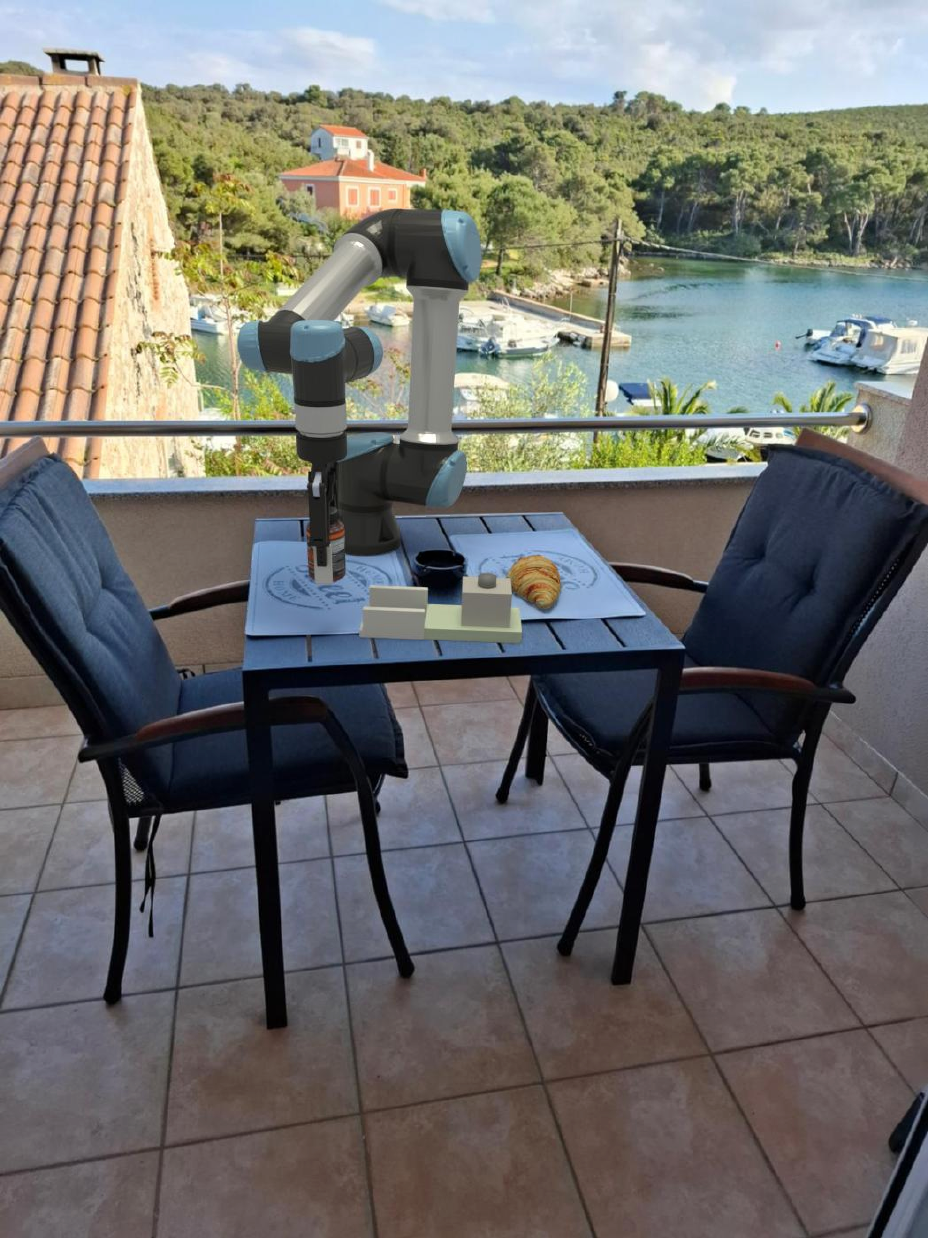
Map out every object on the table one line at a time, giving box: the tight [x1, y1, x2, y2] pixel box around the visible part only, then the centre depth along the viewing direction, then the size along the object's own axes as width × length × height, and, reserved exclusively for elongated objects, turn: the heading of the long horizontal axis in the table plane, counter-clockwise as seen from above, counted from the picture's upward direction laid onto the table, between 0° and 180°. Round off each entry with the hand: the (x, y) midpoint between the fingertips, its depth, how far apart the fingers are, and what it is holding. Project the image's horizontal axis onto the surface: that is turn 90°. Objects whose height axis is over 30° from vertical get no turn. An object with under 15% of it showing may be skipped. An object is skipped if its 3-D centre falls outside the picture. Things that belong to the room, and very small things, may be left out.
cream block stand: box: [358, 572, 523, 644], centre depth 139 cm, size 10×27×10 cm, turn 89°
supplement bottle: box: [305, 506, 347, 583], centre depth 131 cm, size 6×6×11 cm
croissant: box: [505, 554, 562, 610], centre depth 156 cm, size 21×10×8 cm, turn 9°
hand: (327, 574), depth 134 cm, fingers closed on supplement bottle, 6 cm apart
